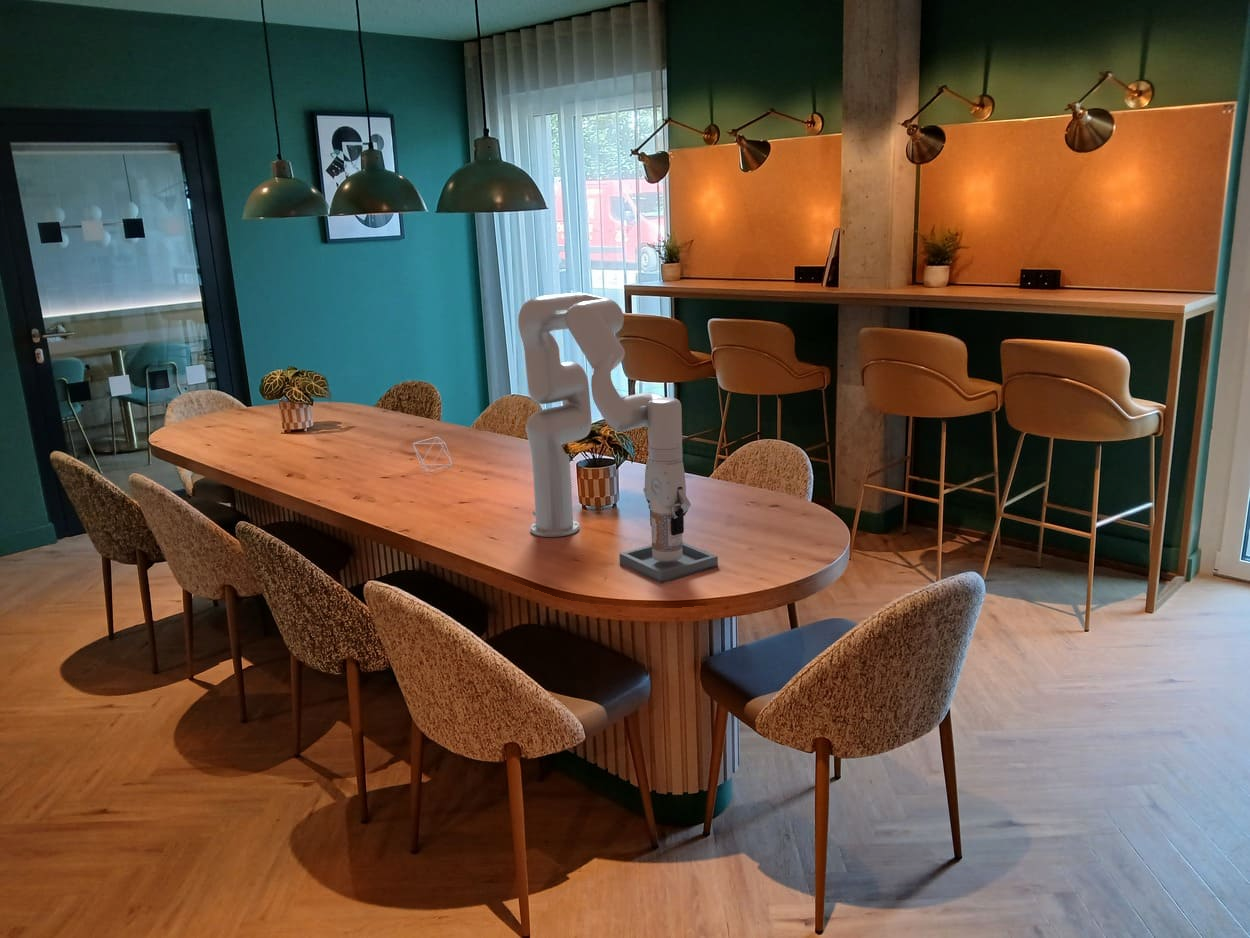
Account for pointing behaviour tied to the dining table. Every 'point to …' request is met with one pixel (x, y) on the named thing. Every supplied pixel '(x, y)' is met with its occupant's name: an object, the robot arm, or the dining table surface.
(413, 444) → the geometric polyhedron
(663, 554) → the bath foam
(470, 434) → the dining table surface
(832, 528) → the dining table surface
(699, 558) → the blue-gray tray
